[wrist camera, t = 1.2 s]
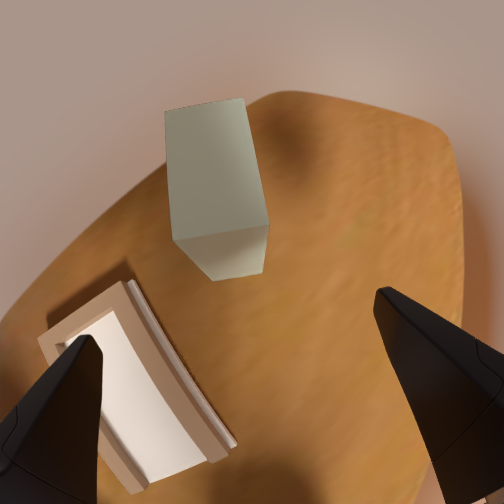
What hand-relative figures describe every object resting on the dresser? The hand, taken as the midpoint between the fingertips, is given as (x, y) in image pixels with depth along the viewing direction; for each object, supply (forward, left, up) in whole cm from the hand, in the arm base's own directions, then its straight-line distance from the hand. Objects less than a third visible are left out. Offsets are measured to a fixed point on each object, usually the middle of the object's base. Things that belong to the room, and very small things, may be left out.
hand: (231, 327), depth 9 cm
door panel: (+4, -4, -12) cm, 14 cm away
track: (+3, +10, -12) cm, 16 cm away
